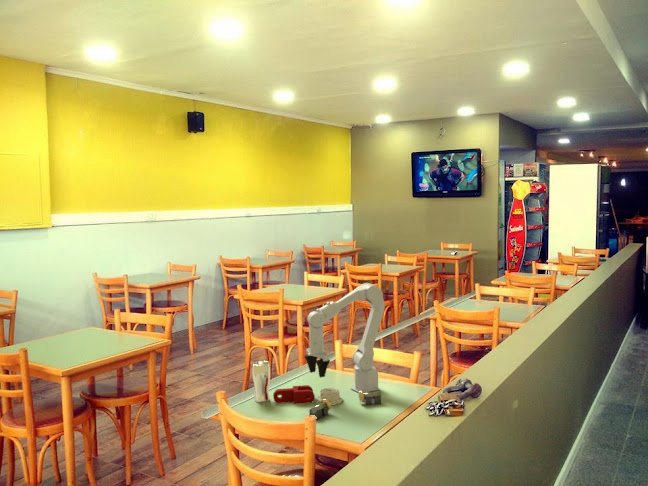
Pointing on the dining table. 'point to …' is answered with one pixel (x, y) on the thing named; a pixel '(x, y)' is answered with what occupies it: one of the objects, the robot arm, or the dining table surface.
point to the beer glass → (261, 380)
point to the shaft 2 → (370, 398)
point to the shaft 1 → (321, 409)
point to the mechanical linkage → (295, 395)
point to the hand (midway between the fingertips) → (317, 374)
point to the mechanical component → (330, 396)
